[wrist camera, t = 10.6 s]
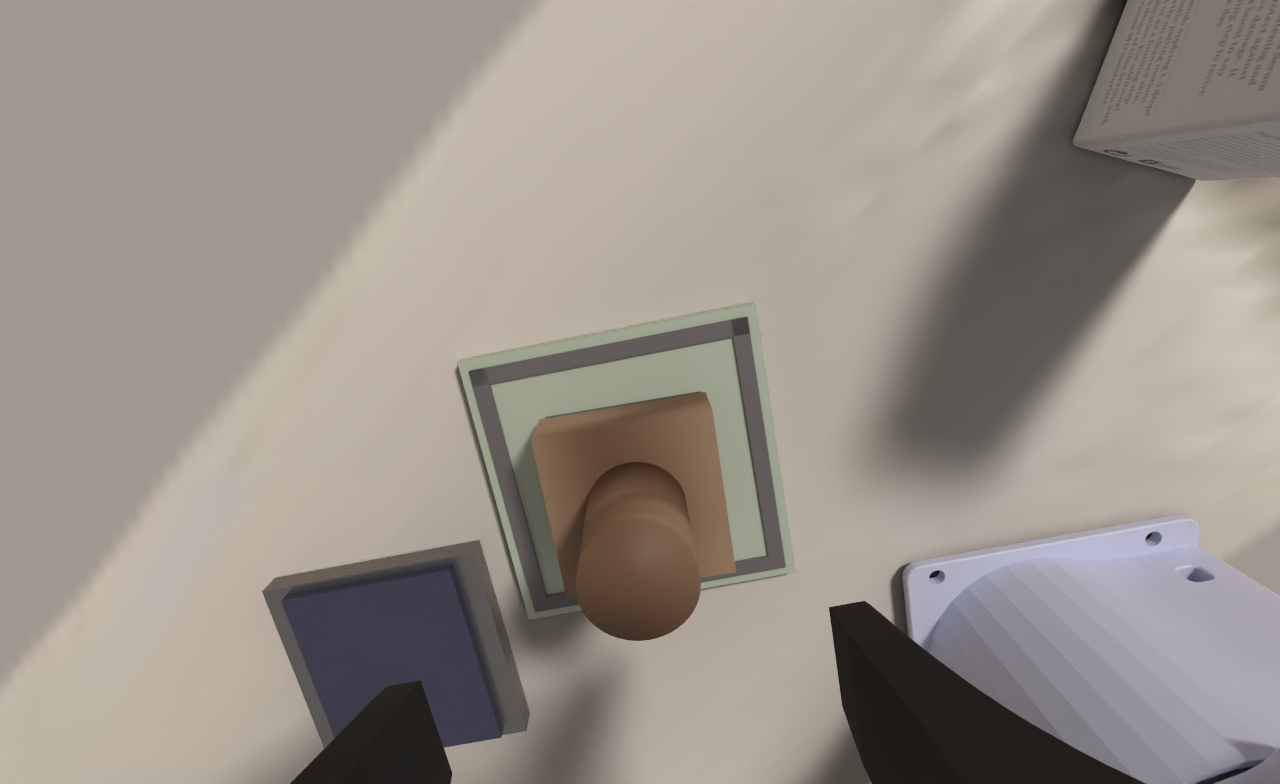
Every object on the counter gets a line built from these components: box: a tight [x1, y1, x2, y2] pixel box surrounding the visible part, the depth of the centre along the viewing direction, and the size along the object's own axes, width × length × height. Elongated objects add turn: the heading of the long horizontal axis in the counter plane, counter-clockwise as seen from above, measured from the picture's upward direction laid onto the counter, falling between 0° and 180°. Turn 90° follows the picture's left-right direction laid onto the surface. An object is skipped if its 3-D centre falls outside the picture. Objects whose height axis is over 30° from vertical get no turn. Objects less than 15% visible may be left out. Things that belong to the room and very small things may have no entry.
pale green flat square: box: [458, 302, 795, 620], centre depth 21 cm, size 9×9×1 cm
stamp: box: [531, 391, 736, 641], centre depth 18 cm, size 5×5×6 cm
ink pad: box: [262, 540, 530, 748], centre depth 23 cm, size 7×7×1 cm
